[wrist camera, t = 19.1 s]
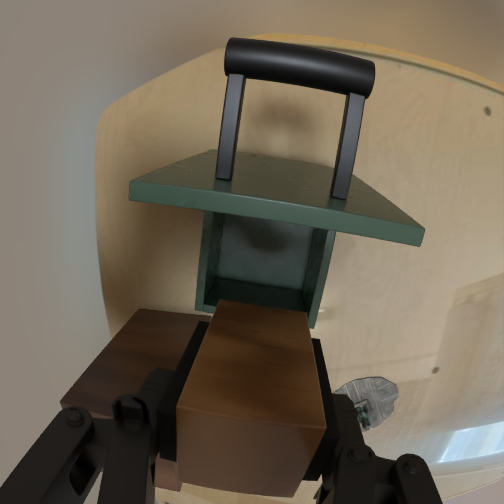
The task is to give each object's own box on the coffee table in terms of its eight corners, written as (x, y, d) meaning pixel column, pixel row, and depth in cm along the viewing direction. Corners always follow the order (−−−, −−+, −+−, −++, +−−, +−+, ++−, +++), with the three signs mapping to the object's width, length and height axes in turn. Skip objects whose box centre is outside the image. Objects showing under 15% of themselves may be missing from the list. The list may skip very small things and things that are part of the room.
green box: (306, 294, 38) (314, 329, 30) (211, 279, 38) (194, 310, 30) (329, 173, 34) (346, 175, 26) (226, 157, 35) (211, 154, 26)
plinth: (138, 308, 40) (59, 401, 21) (211, 316, 40) (165, 429, 20) (146, 368, 43) (89, 467, 24) (212, 377, 42) (180, 492, 23)
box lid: (420, 247, 11) (455, 74, 9) (128, 200, 12) (147, 22, 9) (347, 180, 25) (361, 99, 23) (210, 158, 26) (220, 76, 23)
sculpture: (362, 438, 45) (343, 457, 39) (329, 402, 50) (307, 416, 44) (413, 395, 41) (402, 412, 35) (376, 357, 46) (360, 367, 40)
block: (211, 368, 17) (176, 481, 9) (219, 298, 16) (175, 406, 8) (289, 380, 17) (292, 498, 9) (306, 312, 16) (327, 427, 8)
